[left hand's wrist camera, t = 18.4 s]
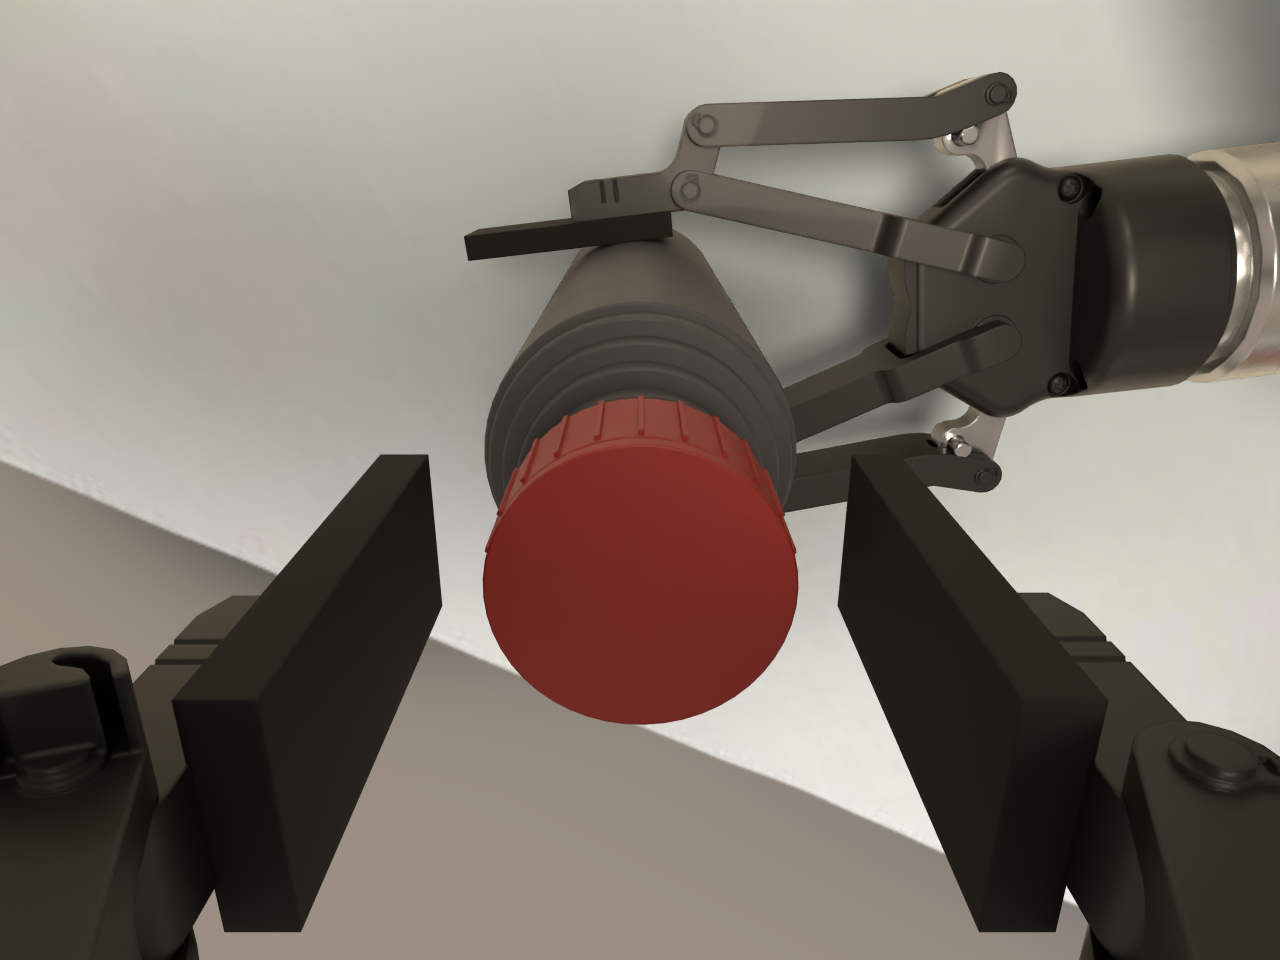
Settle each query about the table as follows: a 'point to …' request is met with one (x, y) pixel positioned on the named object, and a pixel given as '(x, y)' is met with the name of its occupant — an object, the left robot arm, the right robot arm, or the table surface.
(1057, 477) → the table surface
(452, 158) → the table surface
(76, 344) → the table surface
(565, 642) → the cap
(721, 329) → the bottle
